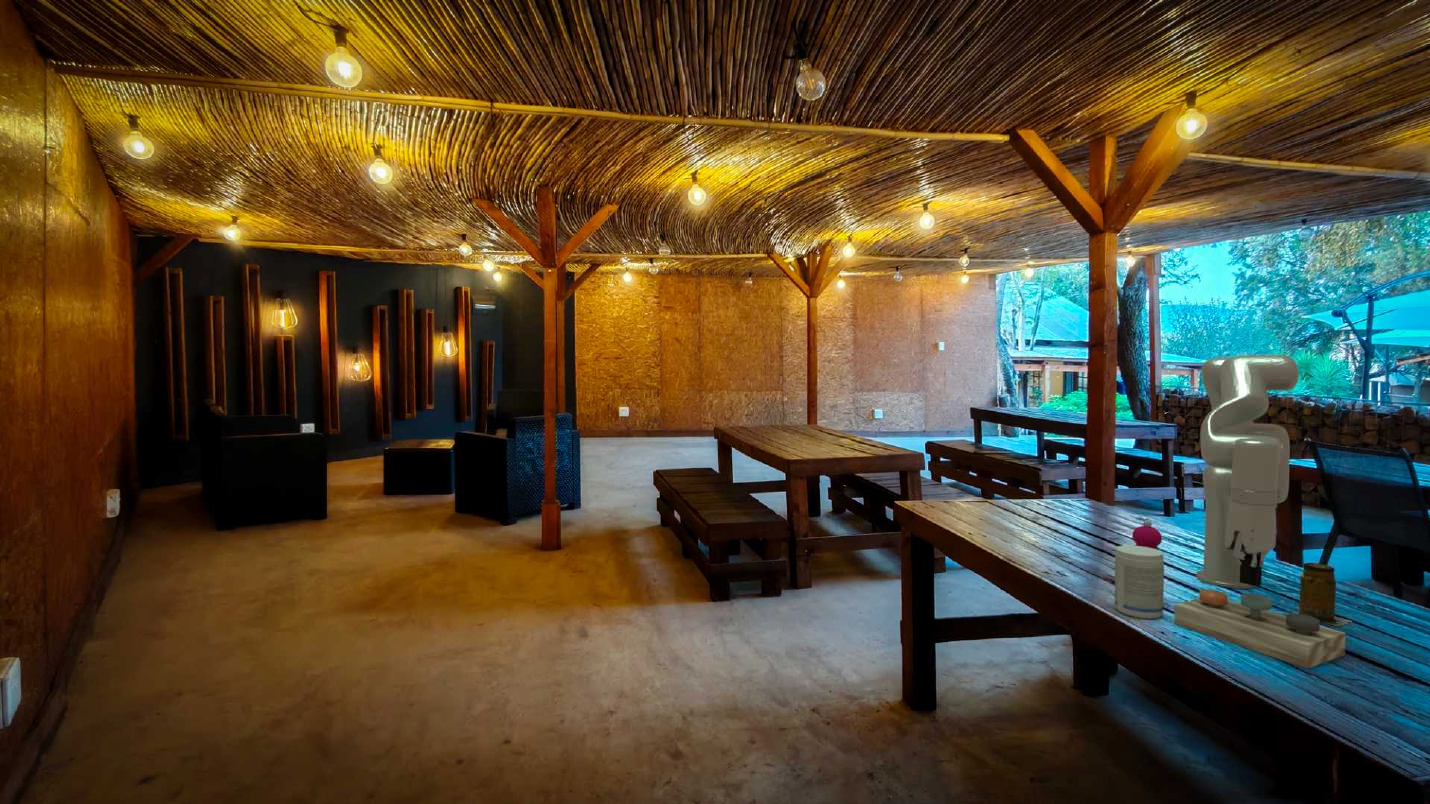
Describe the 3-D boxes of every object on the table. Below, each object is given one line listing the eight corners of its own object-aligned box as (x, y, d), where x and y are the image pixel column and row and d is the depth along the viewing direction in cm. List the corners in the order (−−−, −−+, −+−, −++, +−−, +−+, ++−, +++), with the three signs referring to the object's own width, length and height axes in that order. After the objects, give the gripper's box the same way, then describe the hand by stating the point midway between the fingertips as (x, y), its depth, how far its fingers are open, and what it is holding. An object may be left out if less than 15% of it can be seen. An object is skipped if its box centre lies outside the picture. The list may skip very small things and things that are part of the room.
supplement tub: (1173, 618, 150) (1175, 554, 149) (1138, 621, 148) (1140, 557, 147) (1137, 603, 159) (1138, 543, 158) (1104, 606, 157) (1105, 546, 156)
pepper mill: (1168, 607, 156) (1171, 524, 155) (1134, 605, 158) (1137, 522, 157) (1154, 596, 164) (1157, 517, 163) (1122, 595, 165) (1125, 516, 164)
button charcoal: (1293, 636, 134) (1294, 611, 134) (1324, 645, 130) (1325, 620, 129) (1279, 640, 132) (1280, 615, 132) (1310, 650, 127) (1311, 624, 127)
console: (1211, 614, 152) (1211, 595, 152) (1344, 655, 130) (1345, 632, 130) (1174, 624, 146) (1174, 604, 146) (1307, 668, 124) (1308, 645, 124)
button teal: (1248, 615, 141) (1249, 592, 141) (1275, 623, 137) (1276, 599, 136) (1234, 619, 139) (1235, 595, 139) (1262, 627, 135) (1263, 603, 134)
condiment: (1305, 609, 155) (1308, 559, 154) (1352, 622, 147) (1355, 569, 147) (1289, 614, 152) (1292, 563, 151) (1337, 627, 144) (1339, 574, 143)
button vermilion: (1207, 610, 149) (1207, 588, 148) (1232, 617, 144) (1232, 595, 144) (1193, 613, 146) (1194, 591, 146) (1218, 621, 142) (1219, 598, 142)
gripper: (1253, 492, 144) (1250, 574, 145) (1212, 497, 138) (1209, 583, 139) (1295, 498, 137) (1291, 584, 138) (1253, 503, 131) (1249, 594, 132)
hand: (1250, 583), depth 138 cm, fingers closed
